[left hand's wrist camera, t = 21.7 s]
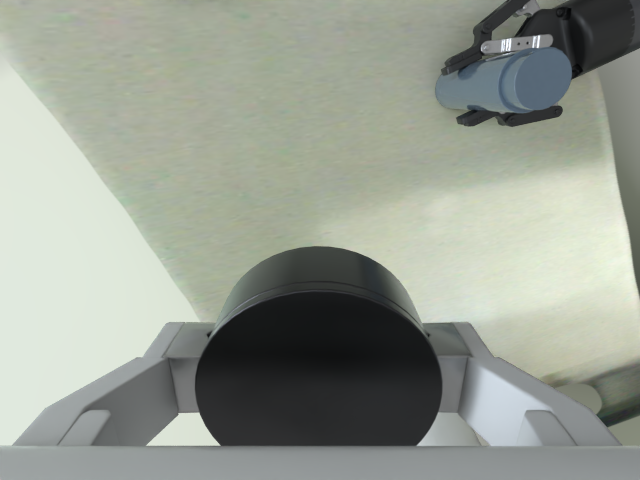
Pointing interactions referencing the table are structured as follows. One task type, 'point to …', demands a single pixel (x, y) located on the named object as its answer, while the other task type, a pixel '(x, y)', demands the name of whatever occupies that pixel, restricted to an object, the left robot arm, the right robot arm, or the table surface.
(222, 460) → the left robot arm
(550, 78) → the blue bottle
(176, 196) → the table surface
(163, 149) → the table surface
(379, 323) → the lid
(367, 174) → the table surface
